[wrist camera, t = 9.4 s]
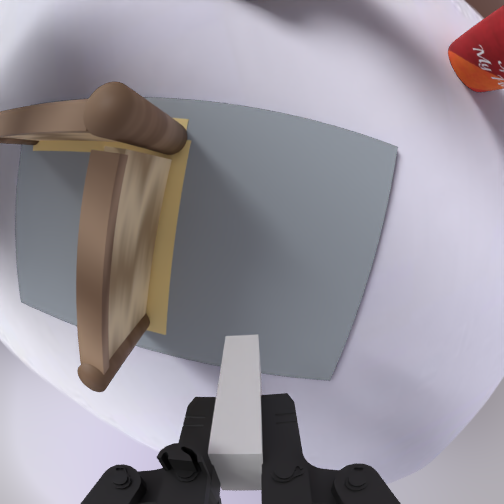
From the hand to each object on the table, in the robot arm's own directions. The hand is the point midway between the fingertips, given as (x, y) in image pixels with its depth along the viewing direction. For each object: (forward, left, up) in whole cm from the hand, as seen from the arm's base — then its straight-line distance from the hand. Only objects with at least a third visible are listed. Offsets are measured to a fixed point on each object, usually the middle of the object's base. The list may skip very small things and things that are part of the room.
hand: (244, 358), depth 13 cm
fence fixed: (-14, +10, -8) cm, 19 cm away
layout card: (-7, +3, -8) cm, 12 cm away
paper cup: (+17, +25, -9) cm, 31 cm away
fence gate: (-8, +2, -7) cm, 11 cm away
